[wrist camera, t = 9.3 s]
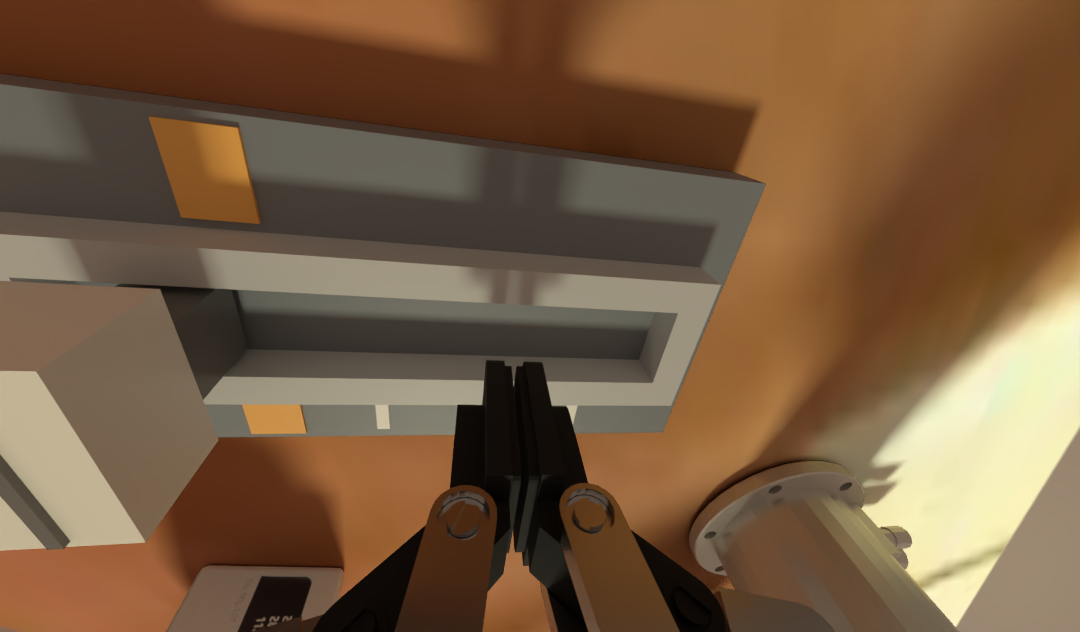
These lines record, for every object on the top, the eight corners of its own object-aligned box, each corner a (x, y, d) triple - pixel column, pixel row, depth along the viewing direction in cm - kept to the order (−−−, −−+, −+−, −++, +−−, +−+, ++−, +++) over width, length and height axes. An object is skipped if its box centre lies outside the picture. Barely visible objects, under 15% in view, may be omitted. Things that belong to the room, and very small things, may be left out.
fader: (229, 243, 12) (26, 377, 6) (265, 374, 14) (141, 549, 9) (108, 234, 11) (-225, 374, 6) (167, 373, 13) (-27, 559, 8)
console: (732, 172, 15) (796, 194, 12) (647, 403, 21) (675, 457, 18) (-64, 65, 10) (-280, 59, 7) (117, 401, 16) (37, 473, 13)
